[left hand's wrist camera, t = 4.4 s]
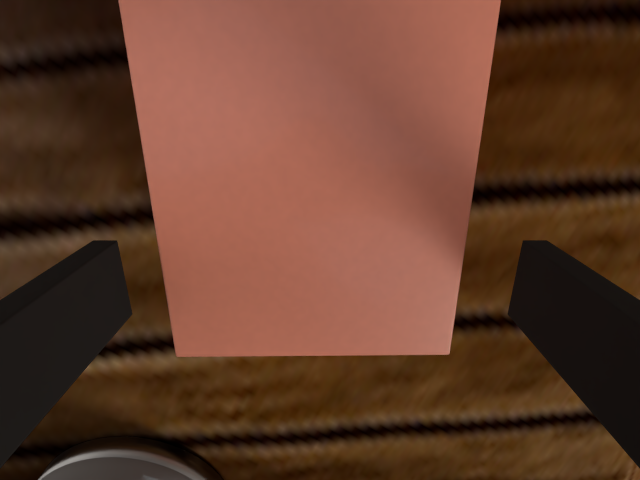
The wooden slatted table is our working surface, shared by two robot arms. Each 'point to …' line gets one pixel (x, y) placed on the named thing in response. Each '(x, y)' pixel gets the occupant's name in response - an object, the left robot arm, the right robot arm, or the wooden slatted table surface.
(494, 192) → the wooden slatted table surface
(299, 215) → the cabinet
